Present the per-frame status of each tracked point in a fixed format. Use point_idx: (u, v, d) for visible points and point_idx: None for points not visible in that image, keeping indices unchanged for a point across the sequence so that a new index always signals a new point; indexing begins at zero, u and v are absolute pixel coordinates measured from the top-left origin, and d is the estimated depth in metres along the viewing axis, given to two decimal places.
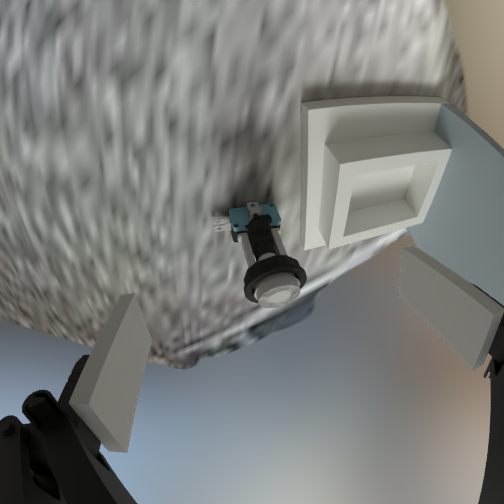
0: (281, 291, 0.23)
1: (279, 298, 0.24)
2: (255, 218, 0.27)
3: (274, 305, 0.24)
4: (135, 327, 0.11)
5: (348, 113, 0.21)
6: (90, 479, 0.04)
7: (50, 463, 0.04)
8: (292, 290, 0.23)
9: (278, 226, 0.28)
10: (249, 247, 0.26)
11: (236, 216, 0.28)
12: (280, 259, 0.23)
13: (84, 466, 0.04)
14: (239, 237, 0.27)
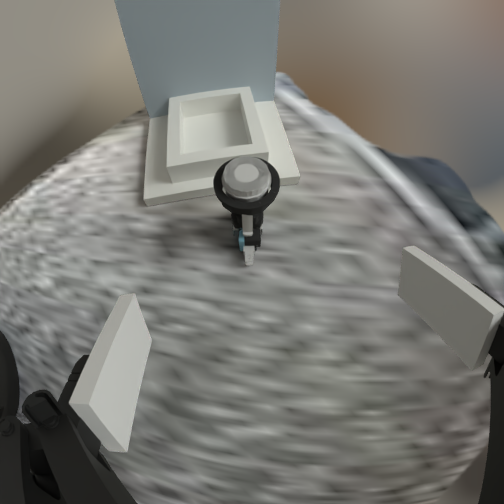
0: (234, 172, 0.22)
1: (249, 172, 0.22)
2: None
3: (262, 175, 0.22)
4: (135, 327, 0.11)
5: (150, 174, 0.32)
6: (90, 479, 0.04)
7: (50, 463, 0.04)
8: (237, 163, 0.22)
9: None
10: (242, 220, 0.26)
11: None
12: None
13: (84, 466, 0.04)
14: (244, 233, 0.27)
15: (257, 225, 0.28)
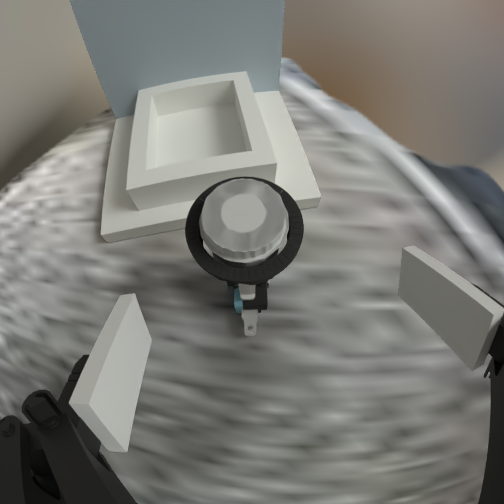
0: (221, 212, 0.12)
1: (248, 211, 0.12)
2: None
3: (273, 217, 0.12)
4: (135, 327, 0.11)
5: (110, 197, 0.23)
6: (90, 479, 0.04)
7: (50, 463, 0.04)
8: (227, 193, 0.12)
9: None
10: None
11: None
12: None
13: (84, 466, 0.04)
14: (242, 297, 0.17)
15: (262, 282, 0.18)
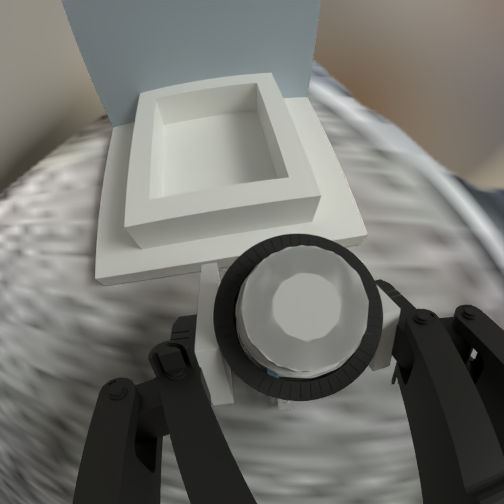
0: (274, 305, 0.08)
1: (315, 304, 0.08)
2: None
3: (352, 313, 0.07)
4: None
5: (106, 228, 0.18)
6: (211, 435, 0.06)
7: (166, 414, 0.06)
8: (279, 271, 0.08)
9: None
10: None
11: None
12: None
13: (207, 422, 0.06)
14: (280, 374, 0.13)
15: None
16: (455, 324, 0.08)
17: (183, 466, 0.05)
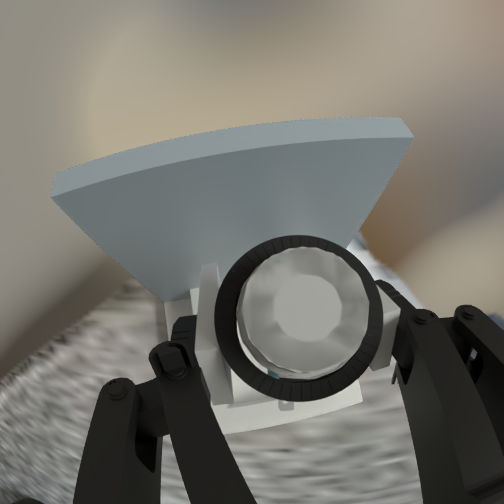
0: (274, 307, 0.08)
1: (316, 306, 0.08)
2: None
3: (352, 315, 0.07)
4: None
5: None
6: (211, 435, 0.06)
7: (166, 414, 0.06)
8: (280, 273, 0.08)
9: None
10: None
11: None
12: None
13: (207, 421, 0.06)
14: None
15: None
16: (455, 324, 0.08)
17: (183, 466, 0.05)
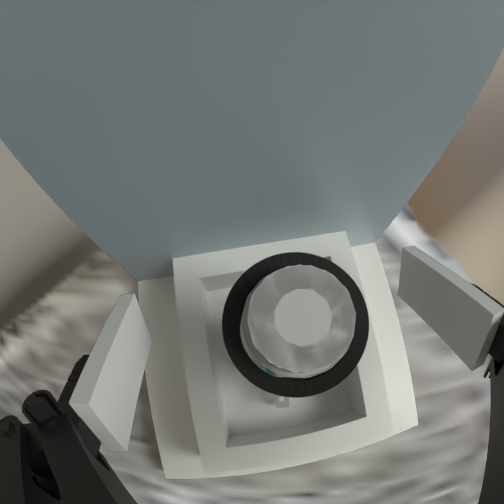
0: (275, 316, 0.09)
1: (310, 316, 0.09)
2: None
3: (341, 323, 0.09)
4: (135, 327, 0.11)
5: (165, 432, 0.16)
6: (90, 479, 0.04)
7: (50, 463, 0.04)
8: (280, 287, 0.09)
9: None
10: None
11: (265, 372, 0.16)
12: None
13: (84, 466, 0.04)
14: (278, 375, 0.14)
15: None
16: None
17: None
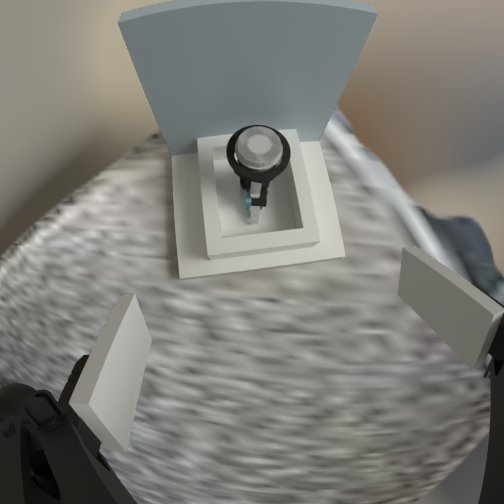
0: (248, 143, 0.22)
1: (262, 144, 0.22)
2: None
3: (275, 148, 0.22)
4: (135, 327, 0.11)
5: (183, 244, 0.30)
6: (90, 479, 0.04)
7: (50, 463, 0.04)
8: (250, 133, 0.22)
9: None
10: None
11: None
12: None
13: (84, 466, 0.04)
14: (252, 195, 0.28)
15: (264, 188, 0.28)
16: None
17: None
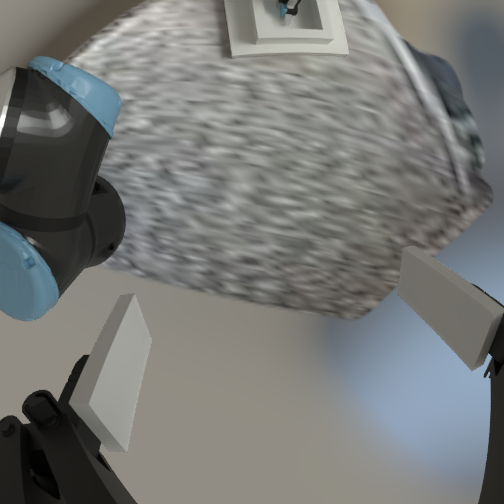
0: None
1: None
2: None
3: None
4: (135, 327, 0.11)
5: (234, 34, 0.32)
6: (90, 479, 0.04)
7: (50, 463, 0.04)
8: None
9: None
10: None
11: (281, 11, 0.31)
12: None
13: (84, 466, 0.04)
14: (288, 6, 0.29)
15: (296, 3, 0.29)
16: None
17: None
